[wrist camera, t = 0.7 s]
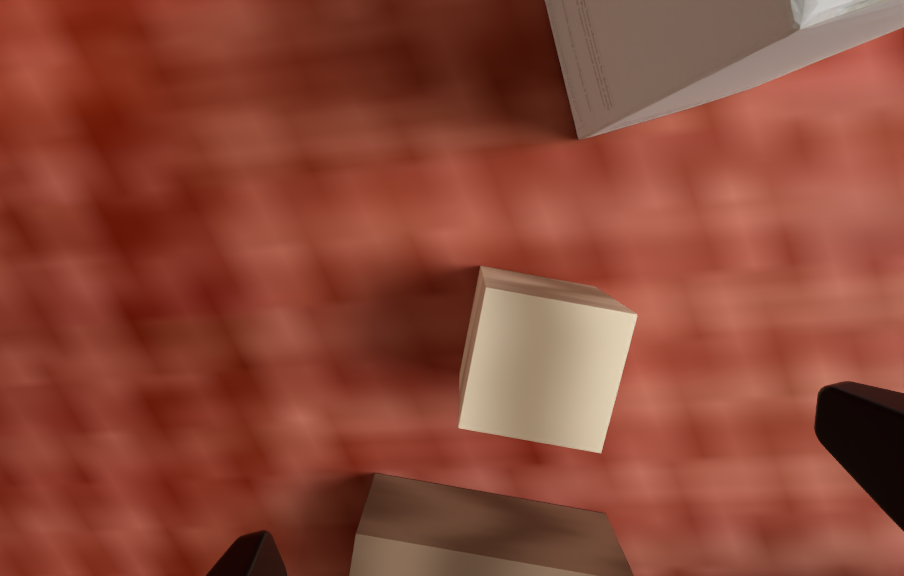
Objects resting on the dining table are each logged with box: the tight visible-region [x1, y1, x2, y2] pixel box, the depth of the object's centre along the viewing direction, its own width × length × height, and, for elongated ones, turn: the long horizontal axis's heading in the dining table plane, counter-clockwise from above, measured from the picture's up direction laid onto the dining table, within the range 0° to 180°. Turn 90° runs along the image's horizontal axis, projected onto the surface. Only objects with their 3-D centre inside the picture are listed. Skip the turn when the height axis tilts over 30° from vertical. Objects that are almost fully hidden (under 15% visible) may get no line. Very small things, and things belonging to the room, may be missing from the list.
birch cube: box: [458, 266, 637, 453], centre depth 18 cm, size 5×5×5 cm
